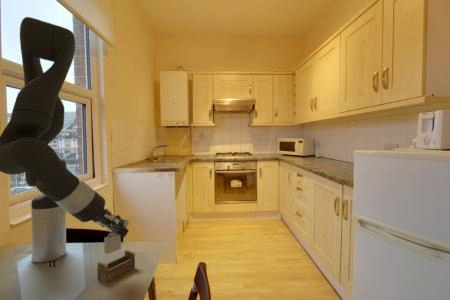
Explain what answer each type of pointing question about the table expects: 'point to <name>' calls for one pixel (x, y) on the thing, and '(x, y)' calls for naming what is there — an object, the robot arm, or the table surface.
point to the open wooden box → (116, 267)
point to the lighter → (113, 240)
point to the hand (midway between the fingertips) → (123, 233)
